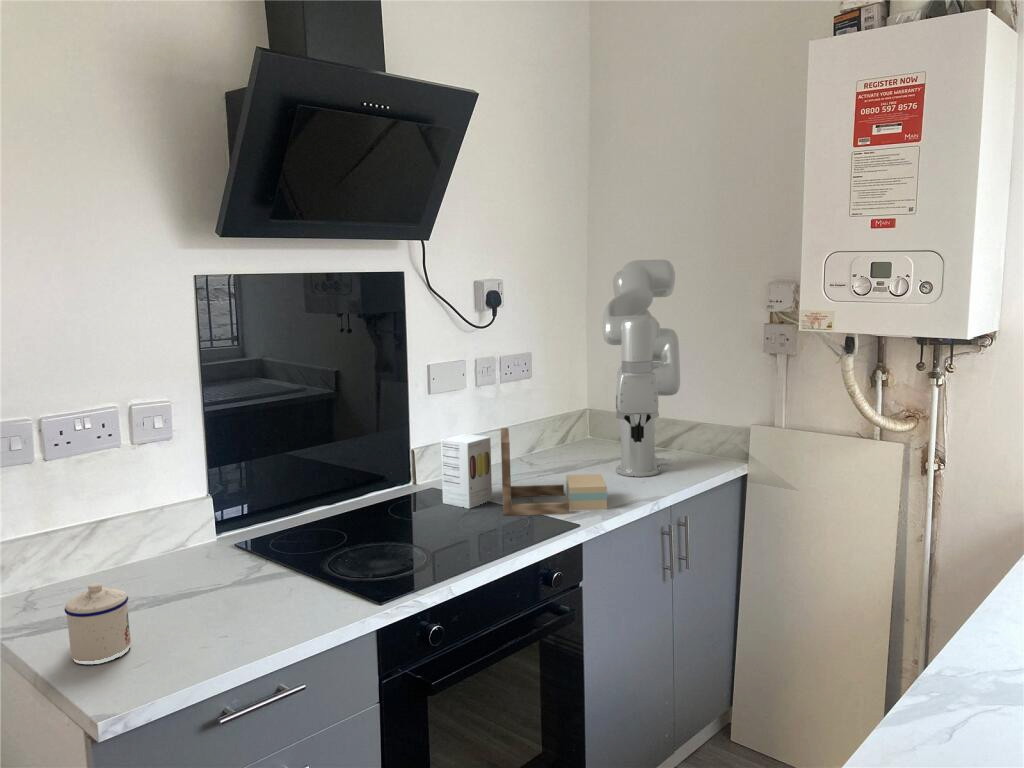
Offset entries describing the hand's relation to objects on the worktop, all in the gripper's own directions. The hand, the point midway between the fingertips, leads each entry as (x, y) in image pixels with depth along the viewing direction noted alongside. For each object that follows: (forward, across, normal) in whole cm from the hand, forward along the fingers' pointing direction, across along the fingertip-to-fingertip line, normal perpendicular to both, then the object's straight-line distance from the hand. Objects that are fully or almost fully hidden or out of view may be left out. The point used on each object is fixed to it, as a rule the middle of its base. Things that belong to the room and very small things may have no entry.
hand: (637, 441), depth 207 cm
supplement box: (+16, +43, -5) cm, 46 cm away
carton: (+16, +13, -1) cm, 20 cm away
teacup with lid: (+17, +100, +74) cm, 125 cm away
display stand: (+16, +26, -1) cm, 30 cm away
